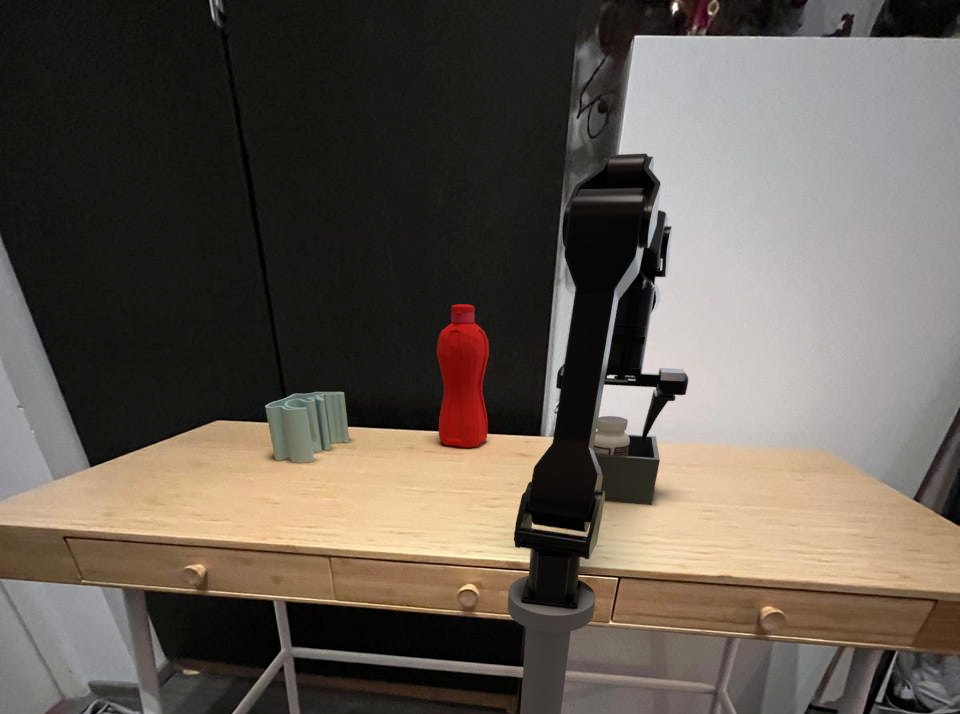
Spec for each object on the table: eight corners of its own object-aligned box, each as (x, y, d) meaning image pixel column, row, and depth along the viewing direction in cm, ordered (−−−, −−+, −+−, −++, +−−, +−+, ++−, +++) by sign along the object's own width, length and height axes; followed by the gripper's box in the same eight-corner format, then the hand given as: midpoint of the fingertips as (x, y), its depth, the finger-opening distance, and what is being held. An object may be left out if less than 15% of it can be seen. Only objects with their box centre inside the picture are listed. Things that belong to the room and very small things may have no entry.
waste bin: (651, 504, 89) (659, 459, 85) (558, 496, 91) (562, 452, 88) (648, 476, 101) (655, 436, 97) (566, 470, 103) (570, 430, 99)
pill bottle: (617, 483, 96) (628, 415, 90) (626, 495, 91) (638, 424, 85) (581, 483, 96) (589, 414, 90) (588, 495, 91) (596, 423, 85)
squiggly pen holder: (307, 437, 121) (299, 390, 115) (351, 439, 119) (346, 392, 114) (268, 461, 106) (257, 408, 101) (318, 464, 105) (310, 410, 99)
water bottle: (494, 438, 122) (498, 303, 108) (475, 450, 114) (476, 306, 100) (455, 433, 125) (454, 302, 111) (433, 445, 116) (429, 304, 103)
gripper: (691, 323, 85) (670, 430, 94) (567, 319, 89) (558, 423, 97) (699, 330, 76) (675, 447, 85) (560, 325, 79) (551, 439, 88)
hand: (612, 438), depth 89 cm, fingers open, 9 cm apart
